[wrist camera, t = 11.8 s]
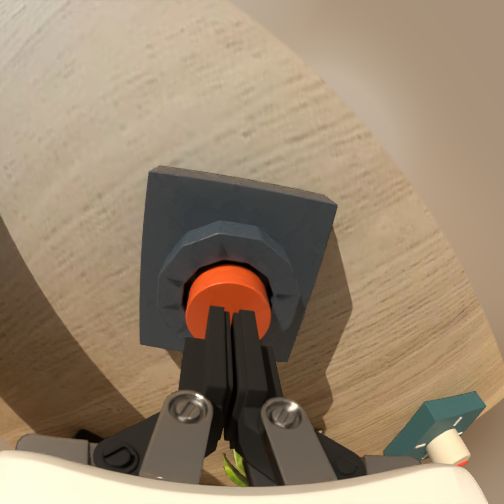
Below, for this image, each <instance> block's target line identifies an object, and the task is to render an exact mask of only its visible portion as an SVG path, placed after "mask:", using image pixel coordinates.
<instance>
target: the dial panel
mask: <svg viewBox="0 0 504 504" xmlns="http://www.w3.org/2000/svg"><path fill="white" fill-rule="evenodd" d="M485 407H486V405H485V404H484V402H483V401H482V399H481V398H480V397H479V395H478V394H477V393H476V391H474V392H470V393H466V394H461V395H457V396H452V397H448V398H443V399H438V400H432V401H427V402H424V403H423V405H422V406H421V407H420V409H419V410H418V411H417V412H416V414H415V415H414V416H413V417H412V419H411V420H410V421H409V422H408V424H407V425H406V426H405V427H404V428H403V430H402V431H401V432H400V433H399V434H398V435H397V437H396V438H395V439H394V440H393V441H392V442H391V443H390V444H389V446H388V447H387V448H386V449H385V450H384V451H383V452H384V454H385V456H413V457H415V458H417V459H418V460H419V461H420V460H424V459H427V458H429V456H428V454H427V452H426V447H427V445H428V444H429V443H430V442H431V441H432V440H433V439H435V438H436V437H437V436H439V435H440V434H442V433H444V432H445V431H448V430H450V429H456V431H457V432H458V434H459V436H461V435H462V434H463V432H464V431H465V430H466V429H467V428H468V427H469V426H470V425H471V424H472V423H473V421H474V420H475V419H476V418H477V417H478V416H479V414H480V413H481V412H482V411H483V409H484V408H485Z"/></svg>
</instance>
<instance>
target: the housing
mask: <svg viewBox="0 0 504 504" xmlns="http://www.w3.org/2000/svg"><path fill="white" fill-rule="evenodd" d="M337 206H338V205H337V204H336V203H334V202H333V201H332V200H330V199H329V198H328V197H326V196H325V195H322V194H318V193H313V192H309V191H304V190H300V189H295V188H290V187H285V186H280V185H275V184H270V183H265V182H260V181H254V180H249V179H243V178H238V177H232V176H226V175H220V174H214V173H208V172H201V171H195V170H188V169H181V168H174V167H167V166H158V167H156V168H154V169H153V170H151V171H149V175H148V183H147V192H146V201H145V212H144V223H143V236H142V251H141V271H140V344H141V345H147V346H152V347H158V348H164V349H170V350H177V351H184V344H185V337H192V338H194V337H193V336H192V334H191V333H190V331H189V329H188V327H187V324H186V318H185V314H186V308H187V302H188V297H189V292H190V288H191V285H192V283H193V281H194V280H195V279H196V277H197V276H198V275H199V274H200V273H202V272H203V271H204V270H206V269H208V268H210V267H213V266H216V265H220V264H236V265H240V266H243V267H246V268H248V269H250V270H251V271H253V272H254V273H255V274H256V275H258V277H259V278H260V279H261V280H262V282H263V284H264V286H265V289H266V293H267V297H268V301H269V305H270V309H271V323H270V326H269V328H268V330H267V332H266V334H265V335H264V336H263V337H262V338H261V339H260V345H261V346H271V347H272V349H273V353H274V357H275V362H287V361H288V358H289V356H290V353H291V350H292V348H293V345H294V342H295V339H296V336H297V334H298V331H299V328H300V325H301V322H302V319H303V316H304V313H305V311H306V308H307V305H308V302H309V299H310V296H311V293H312V289H313V286H314V283H315V280H316V277H317V274H318V271H319V268H320V264H321V261H322V258H323V255H324V251H325V248H326V245H327V241H328V238H329V234H330V231H331V227H332V224H333V220H334V217H335V213H336V210H337Z"/></svg>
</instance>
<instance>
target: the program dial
mask: <svg viewBox="0 0 504 504" xmlns="http://www.w3.org/2000/svg"><path fill="white" fill-rule="evenodd" d="M426 452H427V454H428V456H429V458H430V460H431V462H432V463H444V464H452V465H457V466H460V467H461V466H463V465H465V464H466V463H467V462H468V461H467V460H468V459H469V458H470V456H471V455H470V453H469V451H468V449H467V448H466V446H465V445H464V443H463V441H462V439H461V437H460V436H459V434H458V432H457V431H456V429H450V430H448V431H445V432H444V433H442V434H440V435H439V436H437V437H436V438H435V439H433V440H432V441H431V442H430V443H429V444H428V445H427V447H426Z"/></svg>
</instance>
